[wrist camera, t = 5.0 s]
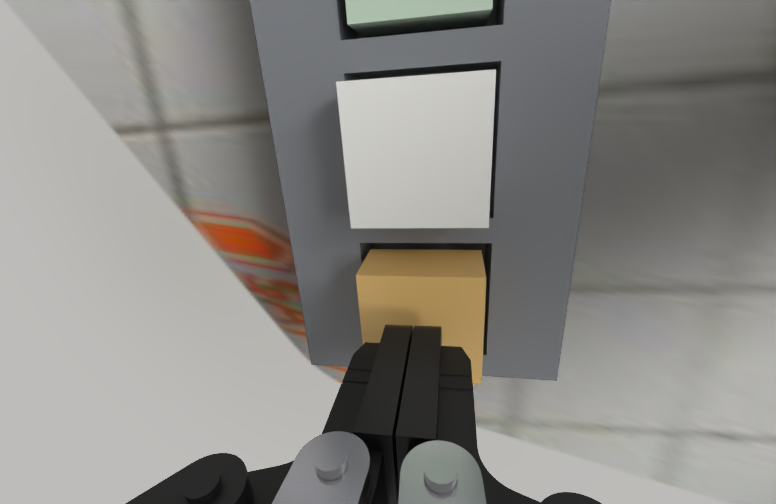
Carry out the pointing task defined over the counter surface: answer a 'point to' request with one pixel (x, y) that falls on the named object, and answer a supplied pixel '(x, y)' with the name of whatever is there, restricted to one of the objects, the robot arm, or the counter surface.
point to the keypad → (508, 174)
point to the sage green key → (414, 15)
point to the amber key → (426, 296)
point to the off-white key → (418, 149)
